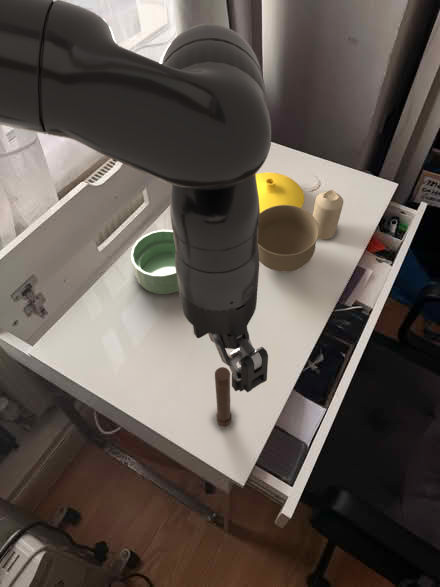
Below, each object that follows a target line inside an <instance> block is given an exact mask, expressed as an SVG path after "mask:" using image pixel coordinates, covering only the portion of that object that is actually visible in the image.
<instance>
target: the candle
mask: <svg viewBox="0 0 440 587" xmlns="http://www.w3.org/2000/svg"><path fill="white" fill-rule="evenodd" d="M343 205H344V199H343V197H342V195H340V194H339V193H337V192H336V191H335V190H334V189H330V190H326V191H322V192H320V193H318V195H316V197H315V202H314V207H313V212H312V216H313V217H314V218H315V219H316V221H317V223H318V226H319V236H318V240H329V239H331V238H333V237H334V236H335V234H336V233H337V232H336V231H337V228H338V224H339V221H340V218H341V213H342V209H343V207H344V206H343Z"/></svg>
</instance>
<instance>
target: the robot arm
mask: <svg viewBox="0 0 440 587" xmlns="http://www.w3.org/2000/svg"><path fill="white" fill-rule="evenodd" d="M0 126H5V127H8V128H9V127H10V128H14V129H19V130H24V131H28V132H33V133H38V134H41V135H48V136H51V137H52V136H53V137H59V138H64V139H70V140H74V141H76V142H77V143H80V144H82V145H84V146H86V147H88V148H90V149H91V150H93V151H95V152H97V153H99V154H101V155H103V156H105V157H107V158H109V159H111V160H113V161H116V162H118V163H120V164H123V165H125V166H127V167H130V168H132V169H134V170H136V171H139V172H141V173H143V174H145V175H147V176H149V177H151V178H154V179H155V180H158V181H161V182H163V183H166V184H168V185H170V197H169V198H170V199H169V201H170V202H169V203H170V204H169V211H170V212H169V213H170V223H171V224H170V225H171V230H172V231H173V236H174V243H175V268H176V274H177V280H178V287H179V291H178V295H179V301H180V305H181V309H182V310H181V311H182V313H183V315H184V317H185V319H186V320H187V321H188V322H189V324H191V325H192V328H193V335H194V336H195V338H197V339H200V338H201V339H202V338H203V337H204V336H206V335H208V337H209V339H210V342H212V343H214V345H215V348H216V350H217V353H218V355H219V357H220V359H221V362H222V363H224V364H225V365H226V366H228V367H229V370H230V373H231V387H232V389H233V390H234V391H235V392H238V391H239V392H240V393H241V392H243V391H245V392H246V393H249V392H251V391H253V389H255V388H256V387H258V386H260V385H261V384H264V383H266V381H268V369H269V368H268V365H269V354H268V352H267V351H268V350H266V348H264V347H263V346H260V347H258V348H256V349H255V347H254V346H253V344H252V342H251V339H250V333H249V330H248V325H249V323H250V321H251V320H252V318H253V317H254V315H255V311H256V309H257V302H258V301H257V300H258V288H259V276H260V261H259V250H258V234H259V220H260V206H259V196H258V189H257V182H256V174H258V172H259V171H260V170H261V168H262V167H263V165H264V164H265V162H266V160H267V159H268V156H269V152H270V150H271V145H272V138H273V137H272V135H273V129H272V128H273V127H272V120H271V113H270V108H269V104H268V98H267V91H266V86H265V80H264V75H263V70H262V66H261V63H260V62H259V59H258V57H257V55H256V53H255V51H254V50H253V48H252V47H251V45H250V44H249V43H248V41H246V39H245V38H243V36H242V35H240V34H239V33H238V32H236V31H235V30H233V29H231V28H229V27H226V26H224V25H221V24H218V23H200V24H196V25H194V26H191V27H189V28H187V29H185V30H183V31H182V32H180V33H178V35H177V36H176V37H175V38H174V39H173V40H172V41H171V42H170V43H169V44H168V46H167V48H165V51H164V52H163V54H162V56H161V58H160V61H157V60H153V59H151V58H149V57H146V56H144V55H142V54H140V53H137V52H135V51H132V50H129V49H127V48H125V47H122V46H121V45H119V44H118V43H117V42H116V40H115V36H114V34H113V31H112V28H111V27H110V25H109V24H108V23H107V21H106V20H105V19H104V18H103V17H102V16H100V15H99V14H97V13H95V12H94V11H91V10H90V9H87V8H85V7H82V6H80V5H77V4H74V3H70V2H67V1H64V0H0ZM227 350H233V351H231V352H229V353H228V352H227ZM237 363H238V364H239V367H238V365H237Z"/></svg>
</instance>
